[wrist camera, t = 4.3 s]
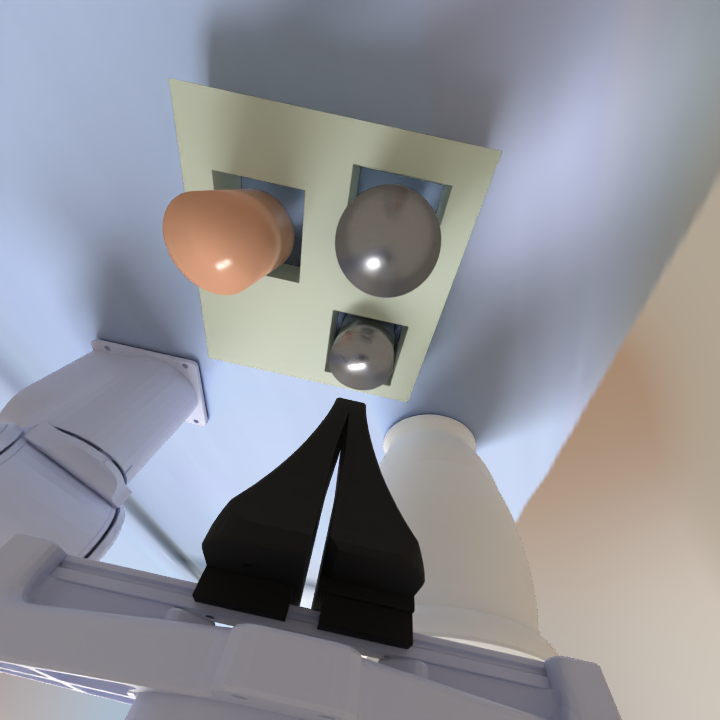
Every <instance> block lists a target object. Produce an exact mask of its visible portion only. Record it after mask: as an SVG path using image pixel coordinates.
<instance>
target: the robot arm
mask: <svg viewBox="0 0 720 720" xmlns="http://www.w3.org/2000/svg"><path fill="white" fill-rule="evenodd" d="M91 345H92V347H93V350H94V351H92V352H90V353H88V354H86V355H84V356H83V357H81V358H79V359H77V360H75V361H73V362H72V363H70V364H68V365H66V366H64V367H63V368H61V369H59V370H57V371H55V372H53V373H52V374H50V375H48V376H46V377H44V378H42V379H41V380H39V381H37V382H35V383H33V384H31V385H30V386H28V387H26V388H25V389H23V390H22V391H20V392H19V393H18V394H16V395H15V396H14V397H13V398H12V399H11V400H10V401H9V402H8V403H7V405H6V406H5V407H4V409H3V410H2V412H1V413H0V672H3V673H7V674H11V675H15V676H20V677H24V678H28V679H32V680H36V681H40V682H44V683H48V684H52V685H56V686H59V687H64V688H67V689H71V690H75V691H79V692H83V693H87V694H91V695H96V696H99V697H103V698H107V699H111V700H115V701H119V702H123V703H127V704H131V705H132V707H131V708H130V710H129V713H128V715H127V716H126V718H125V720H622V719H621V717H620V714H619V712H618V710H617V707H616V704H615V702H614V700H613V697H612V695H611V692H610V690H609V688H608V685H607V683H606V681H605V678H604V675H603V673H602V671H601V668H600V666H598V665H597V664H596V663H592V662H587V661H582V660H578V659H574V658H570V657H564V656H554V657H550V658H548V659H546V660H545V662H543V661H539V660H534V659H530V658H525V657H521V656H516V655H512V654H508V653H503V652H499V651H494V650H490V649H485V648H481V647H477V646H472V645H468V644H463V643H459V642H454V641H450V640H446V639H441V638H437V637H432V636H428V635H423V634H419V633H415V632H413V618H412V613H414V611H415V600H414V596H415V595H416V593H417V592H418V591H419V590H420V589H421V587H422V586H423V585H424V582H425V571H424V565H423V559H422V554H421V550H420V546H419V542H418V540H417V539H416V537H415V536H414V534H413V533H412V531H411V530H410V528H409V526H408V525H407V523H406V521H405V520H404V518H403V516H402V514H401V512H400V511H399V509H398V507H397V505H396V503H395V501H394V499H393V497H392V495H391V493H390V491H389V489H388V487H387V485H386V482H385V480H384V478H383V475H382V473H381V470H380V468H379V465H378V462H377V459H376V456H375V453H374V450H373V446H372V442H371V438H370V434H369V430H368V424H367V417H366V405H365V404H364V403H361V402H357V401H352V400H348V399H343V398H337V399H336V401H335V403H334V405H333V407H332V408H331V410H330V411H329V413H328V414H327V416H326V417H325V419H324V420H323V421H322V422H321V424H320V425H319V426H318V428H317V429H316V430H315V431H314V432H313V433H312V435H311V436H310V437H309V438H308V439H307V440H306V441H305V442H304V443H303V444H302V445H301V446H300V447H299V448H298V449H297V450H296V451H295V452H294V453H293V454H292V455H291V456H290V457H289V458H288V459H286V460H285V461H284V462H283V463H282V464H281V465H279V466H278V467H277V468H276V469H275V470H273V471H272V472H271V473H269V474H268V475H267V476H265V477H264V478H263V479H261V480H260V481H259V482H257V483H256V484H254V485H253V486H251V487H250V488H248V489H247V490H245V491H244V492H242V493H240V494H239V495H237V496H236V497H234V498H233V499H231V500H230V501H229V503H228V504H227V505H226V506H225V507H224V509H223V510H222V511H221V513H220V514H219V515H218V517H217V518H216V520H215V521H214V523H213V524H212V526H211V528H210V530H209V532H208V533H207V535H206V537H205V539H204V541H203V543H202V550H203V554H204V557H205V560H206V564H207V566H206V568H205V570H204V572H203V574H202V576H201V578H200V580H199V582H198V584H197V583H193V582H189V581H184V580H180V579H175V578H171V577H166V576H162V575H158V574H153V573H149V572H144V571H140V570H135V569H131V568H127V567H122V566H118V565H113V564H109V563H104V562H100V560H101V559H102V558H103V556H104V555H105V554H106V553H107V551H108V550H109V549H110V547H111V546H112V545H113V543H114V541H115V540H116V538H117V536H118V534H119V532H120V530H121V527H122V524H123V522H124V519H125V508H124V506H122V504H123V502H124V501H125V500H126V499H127V498H128V497H129V496H130V494H131V493H132V491H131V490H130V489H128V487H127V486H126V485H127V484H128V483H129V482H130V481H131V480H132V479H133V478H134V477H135V475H136V474H137V473H138V472H139V471H140V470H141V469H142V468H143V467H144V466H145V464H146V463H147V462H148V461H149V460H150V459H151V458H152V457H153V456H154V454H155V453H156V452H157V451H158V450H159V449H160V448H161V447H162V446H163V445H164V443H165V442H166V441H167V440H168V439H169V438H170V437H171V436H172V435H173V434H174V432H175V431H176V430H177V429H178V428H179V427H180V426H181V425H182V424H183V422H188V423H192V424H197V425H201V426H205V425H206V424H207V423H208V419H207V413H206V407H205V402H204V396H203V390H202V384H201V378H200V372H199V367H198V364H197V363H196V362H195V361H192V360H188V359H183V358H179V357H174V356H170V355H166V354H161V353H157V352H152V351H148V350H143V349H139V348H135V347H130V346H126V345H121V344H117V343H112V342H108V341H103V340H99V339H96V340H94V341H92V342H91ZM340 450H341V451H340ZM339 453H340V459H339V467H338V475H337V483H336V491H335V498H334V504H333V509H332V513H331V518H330V523H329V527H328V532H327V537H326V542H325V546H324V551H323V556H322V560H321V565H320V570H319V574H318V579H317V584H316V588H315V593H314V598H313V602H312V607H311V609H308V608H304V607H299V606H300V602H301V598H302V593H303V589H304V585H305V581H306V576H307V572H308V568H309V563H310V559H311V555H312V551H313V546H314V542H315V538H316V533H317V529H318V525H319V521H320V516H321V512H322V508H323V504H324V500H325V496H326V493H327V490H328V487H329V484H330V481H331V477H332V474H333V471H334V468H335V465H336V462H337V459H338V456H339ZM215 622H217V623H222V624H226V625H231V626H234V627H233V628H228V627H220V626H215ZM361 655H363V656H368V657H372V658H377V659H379V661H378V662H375V661H372V660H369V659H366V658H363V657H361Z"/></svg>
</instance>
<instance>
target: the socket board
mask: <svg viewBox="0 0 720 720" xmlns="http://www.w3.org/2000/svg"><path fill="white" fill-rule="evenodd" d="M169 85H170V91H171V98H172V105H173V112H174V119H175V126H176V133H177V140H178V147H179V154H180V161H181V168H182V175H183V182H184V189H185V192H189V191H203V190H227V189H241V176H243V177H247V178H252V179H256V180H261V181H265V182H270V183H274V184H279V185H283V186H288V187H292V188H297V189H301V190H305V202H304V218H303V233H302V249H301V265H300V267H297V266H293V265H288V264H284V263H283V264H281V265H280V266H279V267H277V268H276V269H274V270H273V271H271V272H270V273H268V274H267V275H265V276H264V277H263V278H261V279H260V280H258V281H257V282H255V283H254V284H252V285H251V286H249V287H248V288H247V289H245V290H243V291H242V292H240V293H237V294H233V295H219V294H214V293H211V292H208V291H206V290H204V289H202V288H200V287H199V293H200V300H201V307H202V314H203V321H204V328H205V335H206V342H207V349H208V356H209V358H212V359H217V360H221V361H226V362H230V363H235V364H239V365H243V366H248V367H252V368H257V369H261V370H266V371H270V372H275V373H279V374H283V375H288V376H292V377H297V378H301V379H306V380H310V381H315V382H319V383H323V384H328V385H332V386H337V387H341V388H346V389H350V390H355V389H352V388H349V387H347V386H345V385H343V384H341V383H340V382H339V381H338V380H337V379H336V378H335V377H334V376H333V374H332V373H331V371H330V368H329V363H328V359H329V354H330V351H331V349H332V346H333V344H334V340H335V334H336V327H337V321H338V314H339V311H341V312H345V313H350V314H354V315H358V316H363V317H367V318H372V319H376V320H381V321H385V322H390V323H394V324H399V325H403V326H402V329H401V333H400V336H399V339H398V343H397V346H396V349H395V353H394V357H393V370H392V374H391V376H390V377H389V379H388V380H387V381H386V382H385V383H384V384H383V385H381V386H379V387H377V388H375V389H371V390H355V391H359V392H363V393H368V394H372V395H377V396H381V397H386V398H390V399H395V400H399V401H403V402H408V401H409V398H410V395H411V393H412V390H413V387H414V385H415V382H416V379H417V377H418V374H419V371H420V369H421V366H422V363H423V361H424V358H425V355H426V353H427V350H428V347H429V345H430V342H431V339H432V337H433V334H434V331H435V329H436V326H437V323H438V321H439V318H440V315H441V313H442V310H443V307H444V305H445V302H446V299H447V297H448V294H449V291H450V289H451V286H452V283H453V281H454V278H455V275H456V273H457V270H458V267H459V265H460V262H461V259H462V257H463V254H464V251H465V249H466V246H467V243H468V241H469V238H470V235H471V233H472V230H473V227H474V225H475V222H476V219H477V217H478V214H479V211H480V209H481V206H482V203H483V201H484V198H485V195H486V193H487V190H488V187H489V185H490V182H491V179H492V177H493V174H494V171H495V169H496V166H497V163H498V161H499V158H500V155H501V153H502V151H499V150H494V149H490V148H485V147H481V146H476V145H471V144H467V143H462V142H458V141H453V140H449V139H444V138H440V137H435V136H431V135H426V134H421V133H417V132H412V131H408V130H403V129H399V128H394V127H390V126H385V125H381V124H376V123H371V122H367V121H362V120H358V119H353V118H349V117H344V116H340V115H335V114H331V113H326V112H321V111H317V110H312V109H308V108H303V107H299V106H294V105H290V104H285V103H281V102H276V101H271V100H267V99H262V98H258V97H253V96H249V95H244V94H240V93H235V92H231V91H226V90H221V89H217V88H212V87H208V86H203V85H199V84H194V83H190V82H185V81H180V80H176V79H171V78H169ZM361 167H365V168H369V169H374V170H378V171H383V172H387V173H392V174H396V175H401V176H405V177H410V178H414V179H419V180H424V181H428V182H433V183H437V184H442V185H445V186H444V189H443V192H442V196H441V199H440V202H439V206H438V209H437V212H436V216H437V219H438V221H439V225H440V229H441V250H440V254H439V258H438V261H437V263H436V266H435V267H434V269H433V271H432V273H431V274H430V275H429V277H428V278H427V279H426V280H425V281H424V282H423V283H422V284H421V285H420V286H419V287H417V288H416V289H414V290H413V291H411V292H409V293H407V294H404V295H402V296H398V297H391V298H381V297H375V296H372V295H369V294H366V293H364V292H362V291H361V290H359V289H358V288H356V287H355V286H354V285H353V284H352V283H351V282H350V281H349V280H348V279H347V278H346V276H345V275H344V273H343V272H342V270H341V268H340V266H339V263H338V260H337V257H336V251H335V234H336V229H337V225H338V222H339V220H340V218H341V215H342V213H343V212H344V210H345V209H346V207H347V206H348V205H349V204H350V202H351V201H352V200H353V199H355V198H356V196H357V189H358V182H359V176H360V169H361Z"/></svg>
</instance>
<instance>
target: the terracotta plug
mask: <svg viewBox="0 0 720 720" xmlns="http://www.w3.org/2000/svg"><path fill="white" fill-rule="evenodd" d="M163 234H164V240H165V244H166V246H167V249H168V252H169V254H170V256H171V258H172V259H173V261H174V263H175V264H176V266H177V267H178V268H179V270H180V271H181V272H182V273H183V274H184V275H185V276H186V277H187V278H188V279H189V280H190V281H191V282H193V283H194V284H195V285H197V286H198V287H200V288H202V289H204V290H206V291H208V292H211V293H214V294H219V295H233V294H237V293H240V292H242V291H243V290H245V289H247V288H248V287H249V286H251V285H252V284H254V283H255V282H257V281H258V280H260V279H261V278H263V277H264V276H265V275H267V274H268V273H270V272H271V271H273V270H274V269H276V268H277V267H279V266H280V265H281V264H283V263H284V262H285V261H286V260H287V259H288V258H289V256H290V254H291V252H292V249H293V246H294V229H293V225H292V222H291V219H290V217H289V215H288V213H287V211H286V210H285V208H284V207H283V205H282V204H281V203H280V202H279V201H278V200H277V199H276V198H274V197H273V196H272V195H270V194H269V193H267V192H264V191H262V190H259V189H227V190H203V191H189V192H185V193H182V194H180V195H178V196H177V197H175V198H174V199H173V200H172V201H171V202H170V204H169V205H168V207H167V209H166V211H165V215H164V219H163Z"/></svg>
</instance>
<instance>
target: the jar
mask: <svg viewBox="0 0 720 720" xmlns="http://www.w3.org/2000/svg"><path fill="white" fill-rule="evenodd" d="M383 449H384V453H385V456H384V457H383V459H382V461H381V463H380V465H379V468H380V470H381V473H382V475H383V478H384V480H385V482H386V485H387V487H388V489H389V491H390V493H391V495H392V497H393V499H394V501H395V503H396V505H397V507H398V509H399V511H400V512H401V514H402V516H403V518H404V520H405V521H406V523H407V525H408V526H409V528H410V530H411V531H412V533H413V534H414V536H415V537H416V539H417V540H418V542H419V546H420V550H421V554H422V559H423V565H424V571H425V582H424V585H423V586H422V587H421V589H420V590H419V591H418V592H417V593H416V595H415V596H414V600H415V611H414V613H412V618H413V632H415V633H419V634H423V635H428V636H432V637H437V638H441V639H446V640H450V641H454V642H459V643H463V644H468V645H472V646H477V647H481V648H485V649H490V650H494V651H499V652H503V653H508V654H512V655H516V656H521V657H525V658H530V659H534V660H539V661H543V662H545V660H546V659H548V658H550V657H554V656H559V655H558V653H557V652H556V650H555V649H554V648H553V646H552V645H551V644H550V643H549V642H548V641H547V640H546V639H544V638H543V637H542V636H541V635H540V632H539V629H538V612H537V603H536V596H535V590H534V586H533V580H532V576H531V572H530V567H529V563H528V560H527V556H526V553H525V549H524V546H523V543H522V540H521V537H520V534H519V532H518V530H517V527H516V524H515V522H514V520H513V517H512V515H511V513H510V511H509V509H508V507H507V505H506V503H505V501H504V499H503V497H502V496H501V494H500V492H499V490H498V488H497V486H496V484H495V481H494V479H493V477H492V475H491V473H490V472H489V470H488V468H487V467H486V465H485V464H484V462H483V461H482V459H481V458H480V457H479V456H478V455H477V453H476V452H475V451H476V442H475V439H474V436H473V434H472V433H471V431H470V430H469V429H468V428H467V427H466V426H465V425H463V424H462V423H460V422H458V421H457V420H454V419H452V418H449V417H445V416H441V415H432V414H426V415H417V416H412V417H409V418H406V419H403V420H401V421H399V422H398V423H396V424H395V425H394V426H392V427H391V428H390V429H389V431H388V432H387V433H386V435H385V438H384V441H383ZM361 657H363V658H366V659H369V660H372V661H375V662H378V661H379V659H377V658H372V657H368V656H363V655H361Z"/></svg>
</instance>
